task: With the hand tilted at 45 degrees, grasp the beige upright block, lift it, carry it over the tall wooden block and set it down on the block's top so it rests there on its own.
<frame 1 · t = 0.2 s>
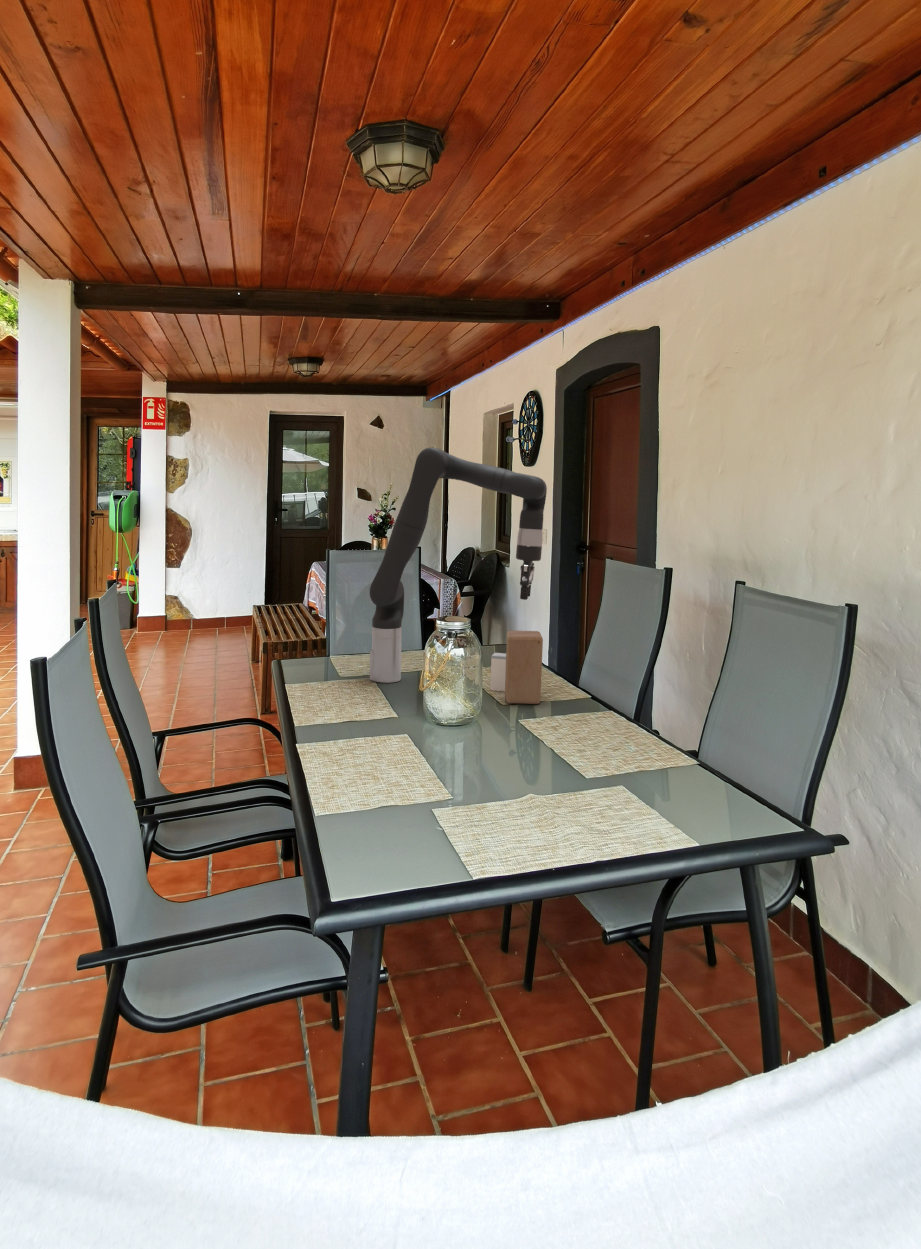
hand: (525, 597, 245), 29 cm above the table, tool pointing down, fingers open, 8 cm apart
beige upright block: (500, 688, 252), on the table
wooden block: (522, 700, 239), on the table
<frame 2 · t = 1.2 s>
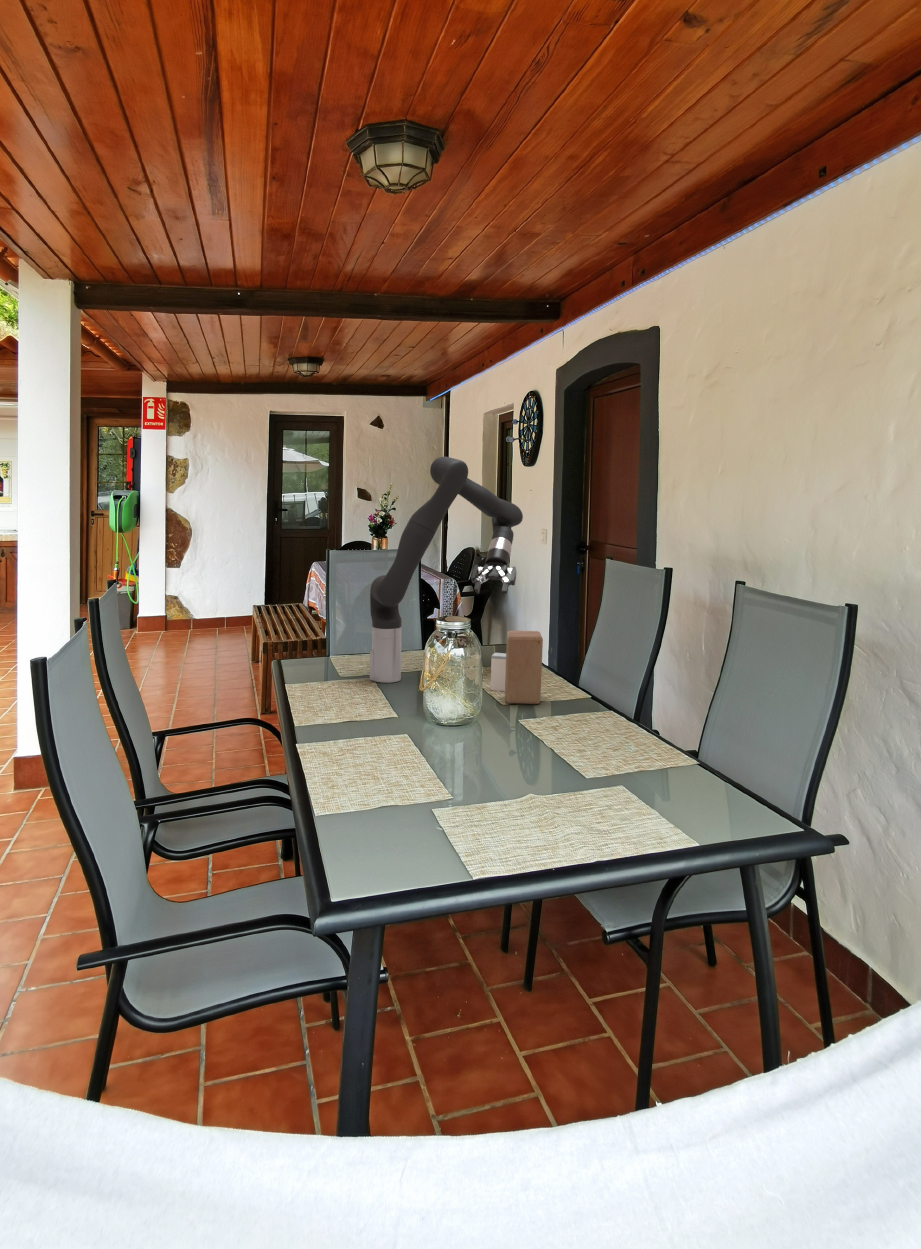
hand: (490, 593, 260), 28 cm above the table, tool tilted 45°, fingers open, 8 cm apart
nothing on the table moved.
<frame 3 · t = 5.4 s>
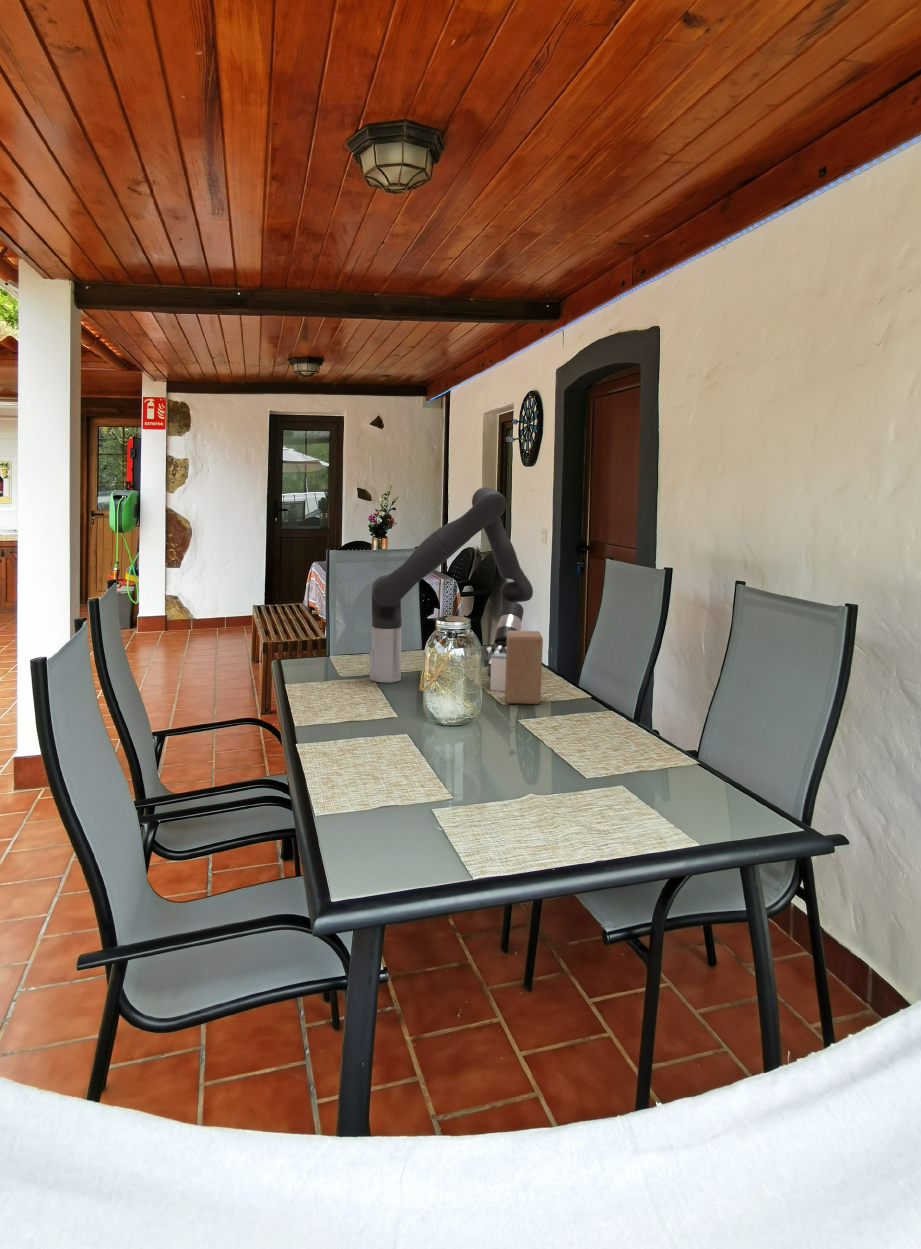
hand: (499, 676, 249), 4 cm above the table, tool tilted 45°, fingers closed on beige upright block, 5 cm apart
beige upright block: (499, 688, 252), on the table, touching gripper
everything else where it was.
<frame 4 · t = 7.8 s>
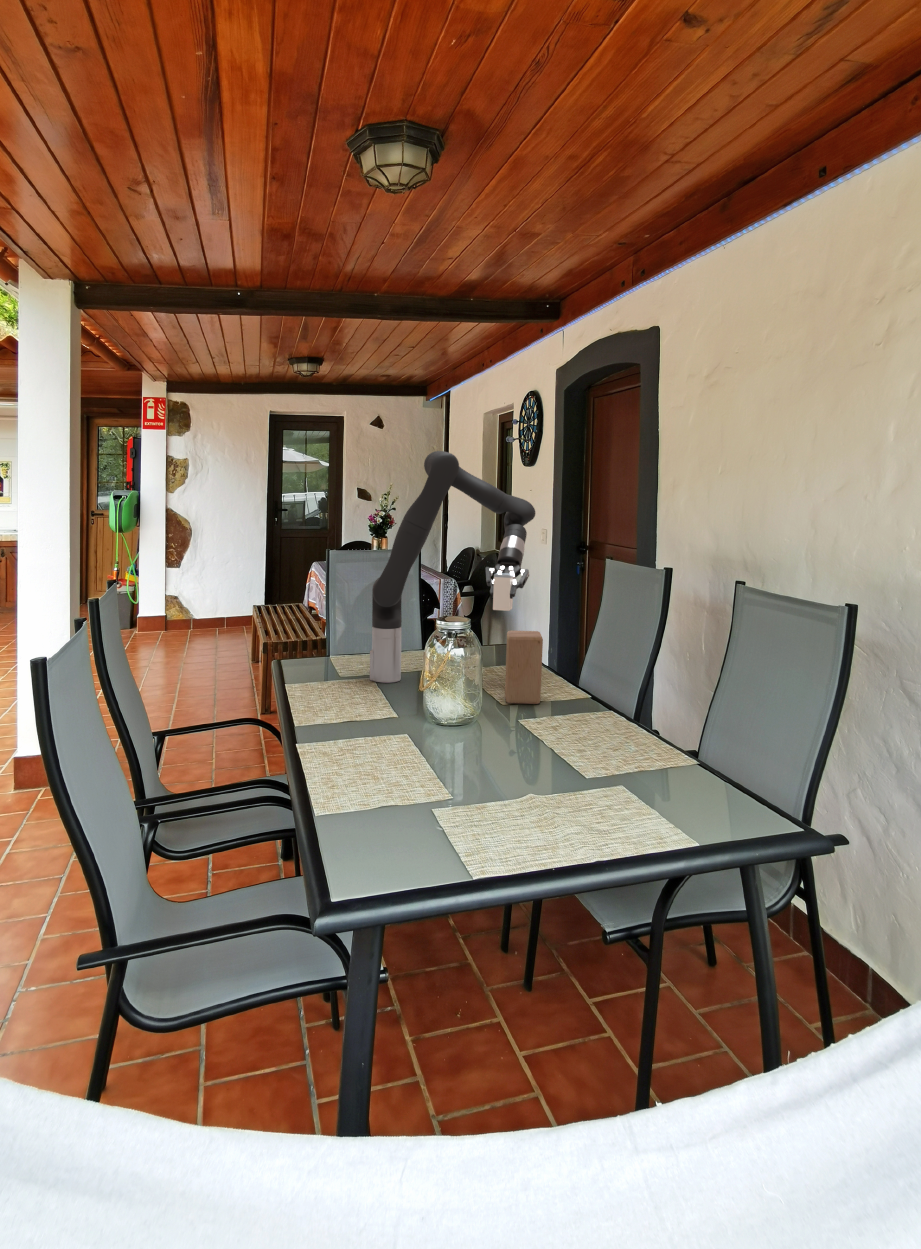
hand: (502, 596, 245), 29 cm above the table, tool tilted 45°, fingers closed on beige upright block, 5 cm apart
beige upright block: (502, 609, 248), point 25 cm above the table, touching gripper
everything else where it was.
when the fingers open (26 cm above the table, at t = 10.4 s): beige upright block drops 1 cm, resting on wooden block.
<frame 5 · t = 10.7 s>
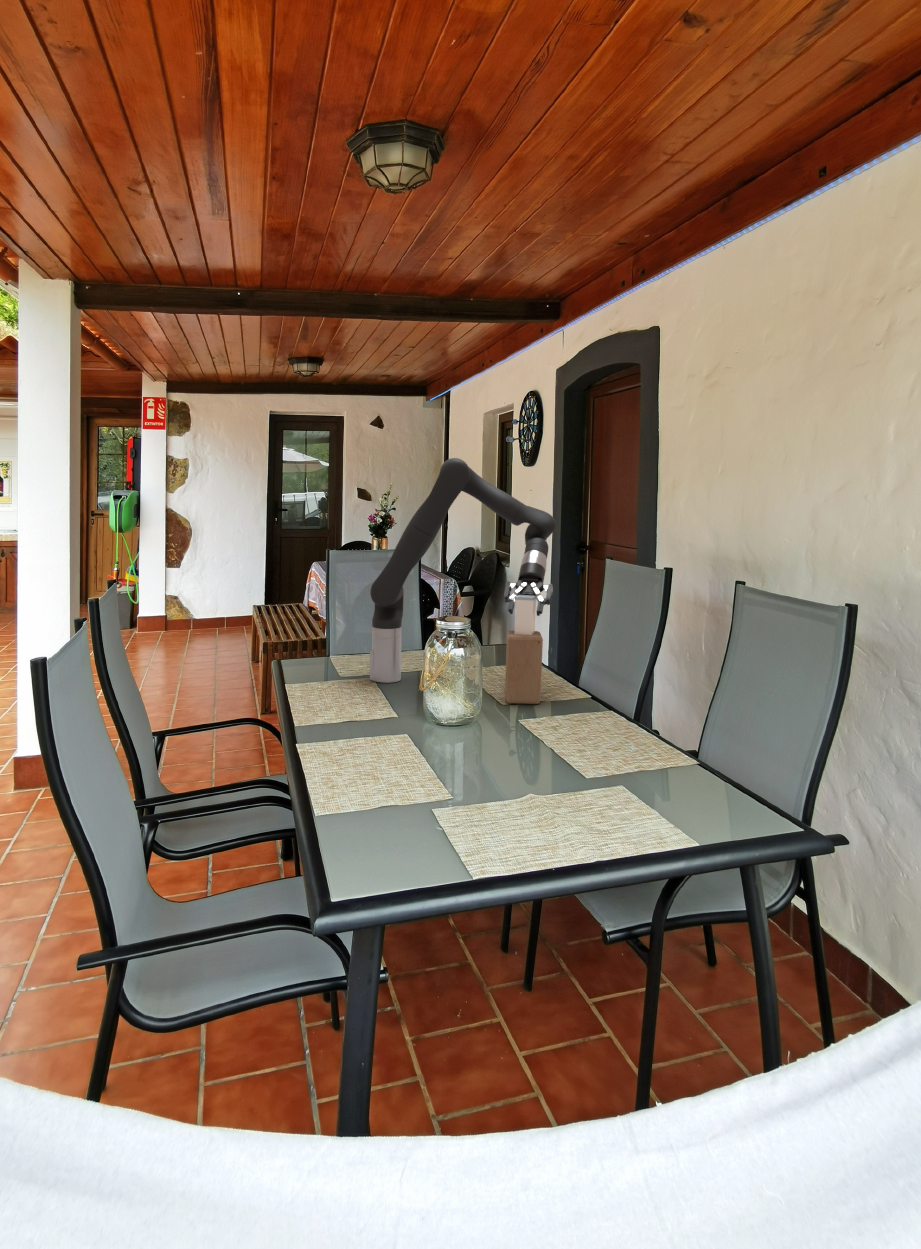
hand: (524, 613, 233), 26 cm above the table, tool tilted 45°, fingers open, 7 cm apart
beige upright block: (524, 633, 236), point 20 cm above the table, touching wooden block
wooden block: (522, 700, 239), on the table, touching beige upright block
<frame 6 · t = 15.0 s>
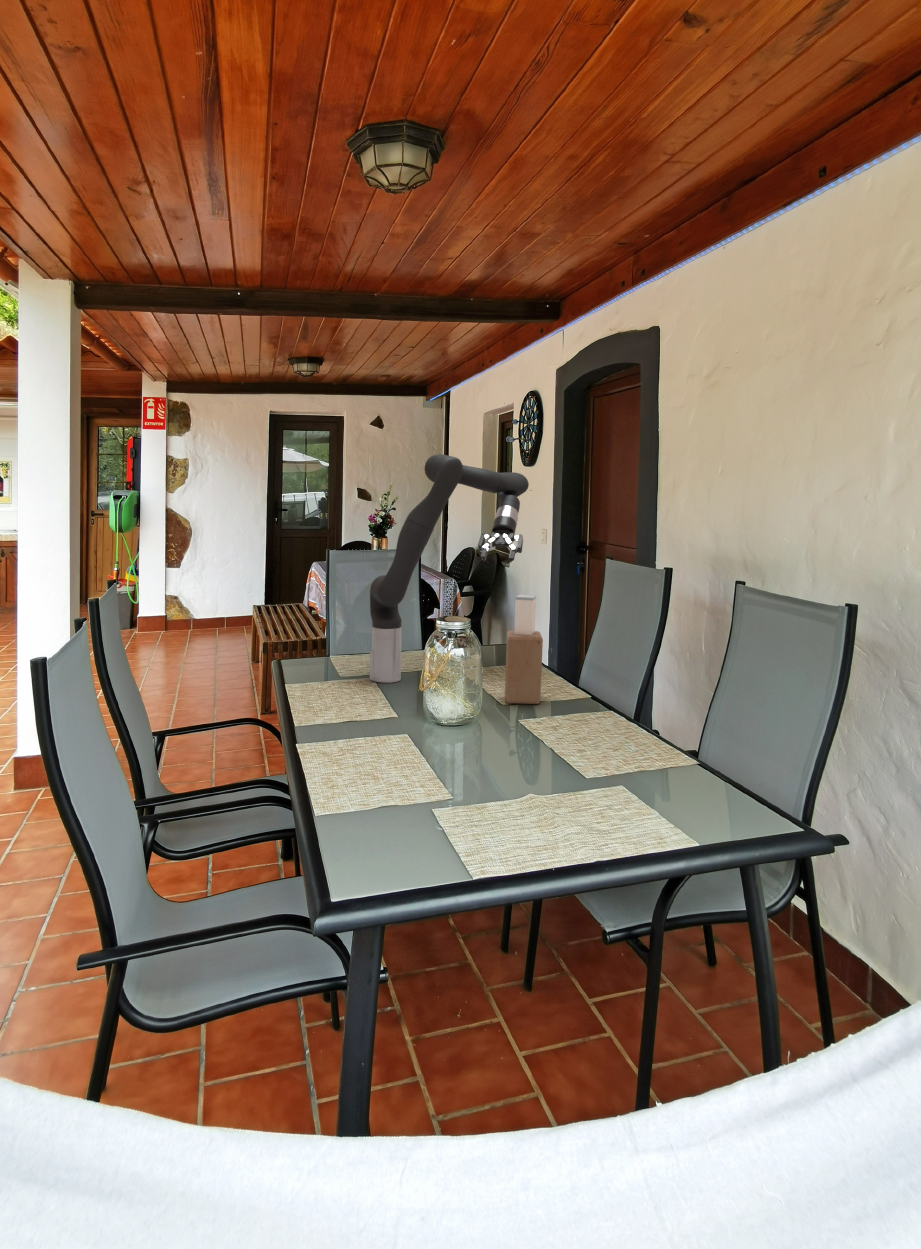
hand: (496, 560, 259), 39 cm above the table, tool tilted 45°, fingers open, 8 cm apart
nothing on the table moved.
at the end: beige upright block point 20.0 cm above the table; beige upright block 0.1 cm from the wooden block (horizontally); beige upright block tilted 0° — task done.
